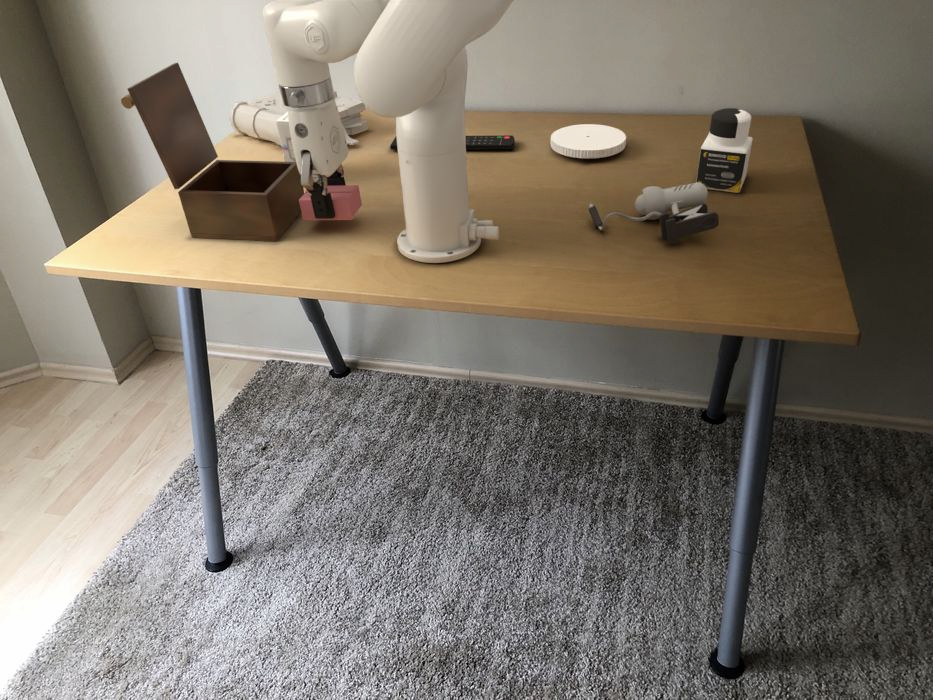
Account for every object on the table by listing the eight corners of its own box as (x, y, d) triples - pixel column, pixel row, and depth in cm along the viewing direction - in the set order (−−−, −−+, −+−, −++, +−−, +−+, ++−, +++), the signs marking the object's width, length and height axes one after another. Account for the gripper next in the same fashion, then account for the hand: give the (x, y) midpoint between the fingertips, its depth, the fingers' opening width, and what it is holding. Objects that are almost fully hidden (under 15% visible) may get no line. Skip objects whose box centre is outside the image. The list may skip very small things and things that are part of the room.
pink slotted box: (362, 204, 117) (358, 184, 115) (351, 219, 113) (347, 198, 111) (315, 205, 119) (311, 185, 117) (303, 220, 114) (298, 199, 112)
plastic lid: (625, 137, 142) (626, 124, 141) (625, 164, 131) (626, 150, 130) (553, 136, 145) (553, 123, 143) (547, 163, 134) (547, 149, 132)
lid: (177, 62, 113) (147, 68, 115) (131, 87, 103) (99, 94, 104) (218, 156, 122) (189, 161, 123) (179, 188, 111) (148, 193, 113)
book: (317, 164, 139) (310, 124, 135) (231, 136, 154) (222, 100, 150) (388, 134, 151) (384, 97, 146) (302, 111, 166) (296, 76, 161)
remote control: (396, 142, 146) (395, 136, 146) (515, 142, 143) (515, 135, 142) (391, 152, 142) (390, 145, 141) (513, 152, 139) (513, 145, 138)
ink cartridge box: (305, 166, 138) (290, 87, 130) (330, 167, 137) (316, 88, 129) (287, 185, 132) (270, 103, 123) (313, 185, 131) (298, 103, 122)
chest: (307, 205, 124) (298, 161, 119) (276, 241, 114) (266, 194, 109) (228, 202, 127) (216, 159, 122) (191, 237, 116) (177, 192, 112)
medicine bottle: (694, 188, 122) (705, 116, 115) (703, 172, 127) (713, 103, 120) (739, 193, 119) (752, 121, 112) (745, 177, 124) (758, 106, 117)
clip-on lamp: (596, 262, 109) (721, 239, 105) (588, 227, 105) (718, 201, 101) (592, 220, 118) (707, 197, 113) (585, 186, 114) (704, 161, 110)
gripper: (310, 110, 98) (336, 233, 108) (350, 75, 111) (370, 187, 122) (259, 112, 99) (289, 233, 109) (305, 78, 113) (328, 188, 123)
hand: (332, 208), depth 115 cm, fingers closed on pink slotted box, 5 cm apart
